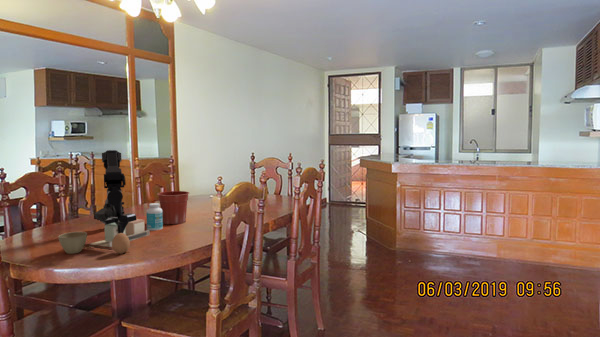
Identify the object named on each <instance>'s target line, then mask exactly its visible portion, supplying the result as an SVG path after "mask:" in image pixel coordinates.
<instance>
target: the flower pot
mask: <svg viewBox="0 0 600 337" xmlns="http://www.w3.org/2000/svg"><path fill="white" fill-rule="evenodd" d="M156 195H157V196H158V201H159V208H161V209H162V215H163V225H170V224H171V225H181V224H184V223H186V221H187V211H188V210H187V208H188V200H189V195H190V192H189V191H185V190H183V191H182V190H172V191H171V190H170V191H160V192H158V193H157V194H156Z"/></svg>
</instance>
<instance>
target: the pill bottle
mask: <svg viewBox="0 0 600 337" xmlns="http://www.w3.org/2000/svg"><path fill="white" fill-rule="evenodd" d="M148 206H149V207H148V208H147V209H146V230H149V231H160V230H163V228H164V226H163V225H164V223H163V215H162V209H161V207H160V202H159V203H158V202H154V203H152V202H151V203H149V204H148Z"/></svg>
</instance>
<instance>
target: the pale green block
mask: <svg viewBox="0 0 600 337" xmlns="http://www.w3.org/2000/svg"><path fill="white" fill-rule="evenodd" d="M103 226H104V227H103V228H105V229H104V240H105V241H106V242H108V241H112V240H113V239H114V237H115V236H116V235H117V234H118V226H117V224H116V223H111V224H107V225H105V224H104V225H103ZM123 233H124V234H125V235H126V228H125V230H124V232H123Z"/></svg>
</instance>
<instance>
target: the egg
mask: <svg viewBox="0 0 600 337" xmlns="http://www.w3.org/2000/svg"><path fill="white" fill-rule="evenodd" d="M130 245H131V241H129V238H128V237H127V235H125V234H124V233H119V234H117V235H116V236H115V237H114V239H113V241H112V247H111V249H112V250H113V251H114V252H115V253H116V254H119V255H123V254H125V253H126V252H127V251H128V250H129V249H130Z"/></svg>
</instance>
